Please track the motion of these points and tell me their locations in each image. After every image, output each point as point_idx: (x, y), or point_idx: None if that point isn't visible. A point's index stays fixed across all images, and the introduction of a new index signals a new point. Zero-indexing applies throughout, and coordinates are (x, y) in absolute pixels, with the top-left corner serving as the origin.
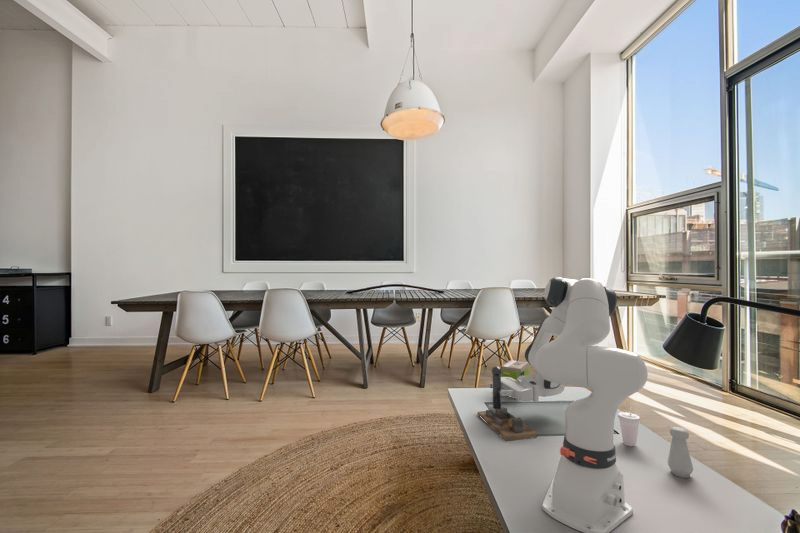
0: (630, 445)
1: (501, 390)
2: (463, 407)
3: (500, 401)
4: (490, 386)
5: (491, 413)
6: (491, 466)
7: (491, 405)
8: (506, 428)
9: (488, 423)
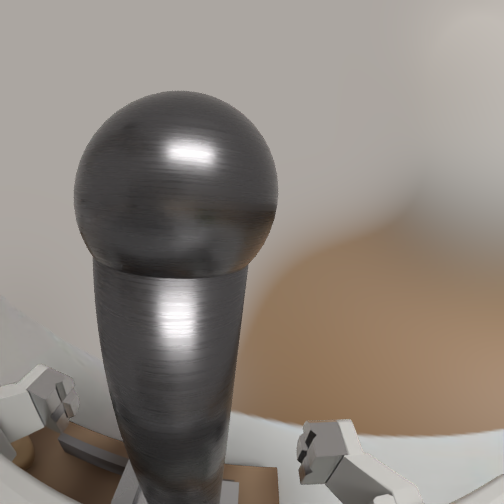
0: None
1: (53, 371)
2: (380, 450)
3: (146, 500)
4: (303, 437)
5: None
6: (11, 316)
7: (223, 494)
8: (40, 442)
9: None
